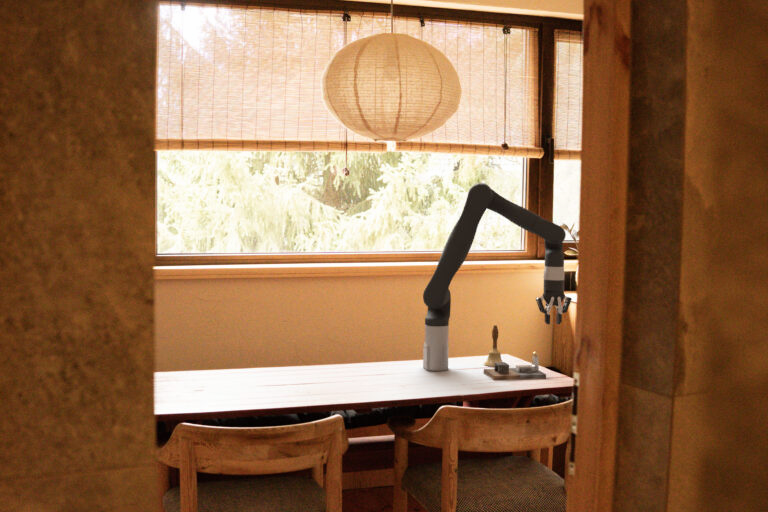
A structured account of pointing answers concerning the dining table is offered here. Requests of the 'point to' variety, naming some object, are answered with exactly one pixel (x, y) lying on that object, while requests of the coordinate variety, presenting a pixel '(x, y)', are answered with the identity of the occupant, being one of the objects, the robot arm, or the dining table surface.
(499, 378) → the lock plate
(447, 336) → the robot arm
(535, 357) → the bolt
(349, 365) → the dining table surface
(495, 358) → the hand bell
